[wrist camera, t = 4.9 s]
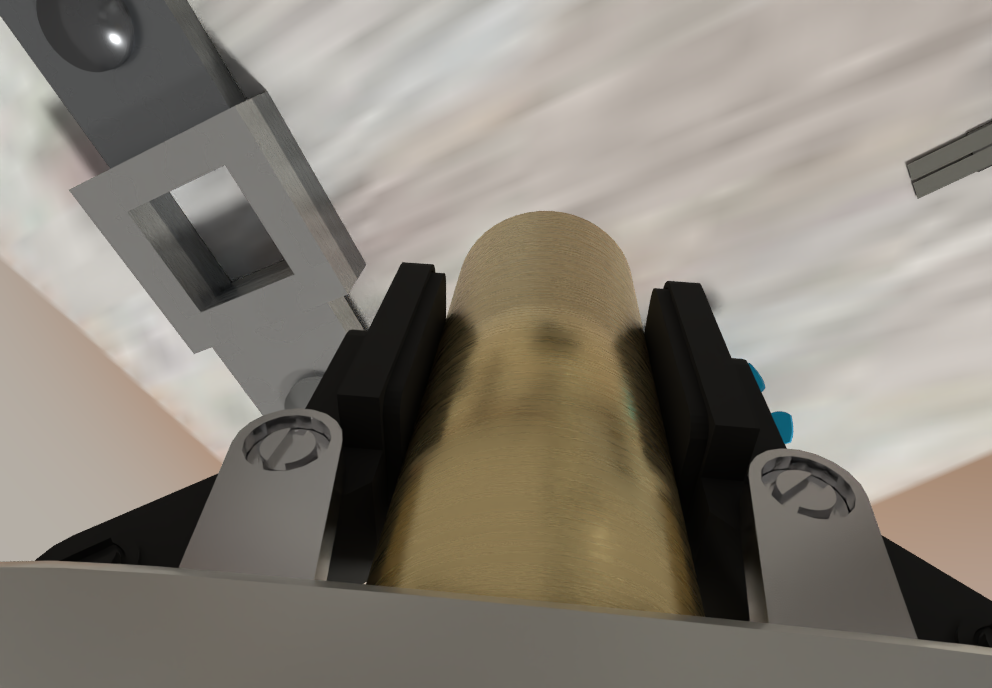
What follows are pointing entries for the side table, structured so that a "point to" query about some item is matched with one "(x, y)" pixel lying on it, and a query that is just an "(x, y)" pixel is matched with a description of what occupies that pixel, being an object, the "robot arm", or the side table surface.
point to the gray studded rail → (185, 157)
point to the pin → (541, 436)
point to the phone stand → (985, 145)
